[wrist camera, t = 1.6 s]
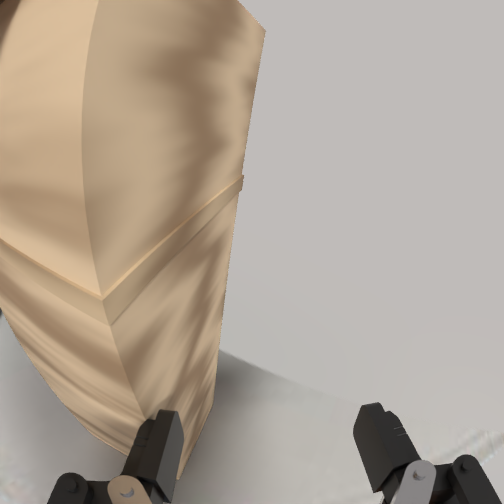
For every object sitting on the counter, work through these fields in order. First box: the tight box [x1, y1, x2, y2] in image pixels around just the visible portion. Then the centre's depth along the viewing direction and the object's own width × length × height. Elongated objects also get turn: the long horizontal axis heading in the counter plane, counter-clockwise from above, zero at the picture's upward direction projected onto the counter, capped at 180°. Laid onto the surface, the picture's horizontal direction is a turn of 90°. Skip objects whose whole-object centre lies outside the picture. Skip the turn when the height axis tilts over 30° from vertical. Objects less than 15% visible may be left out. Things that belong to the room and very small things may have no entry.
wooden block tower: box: [0, 0, 266, 480], centre depth 14 cm, size 10×10×32 cm
